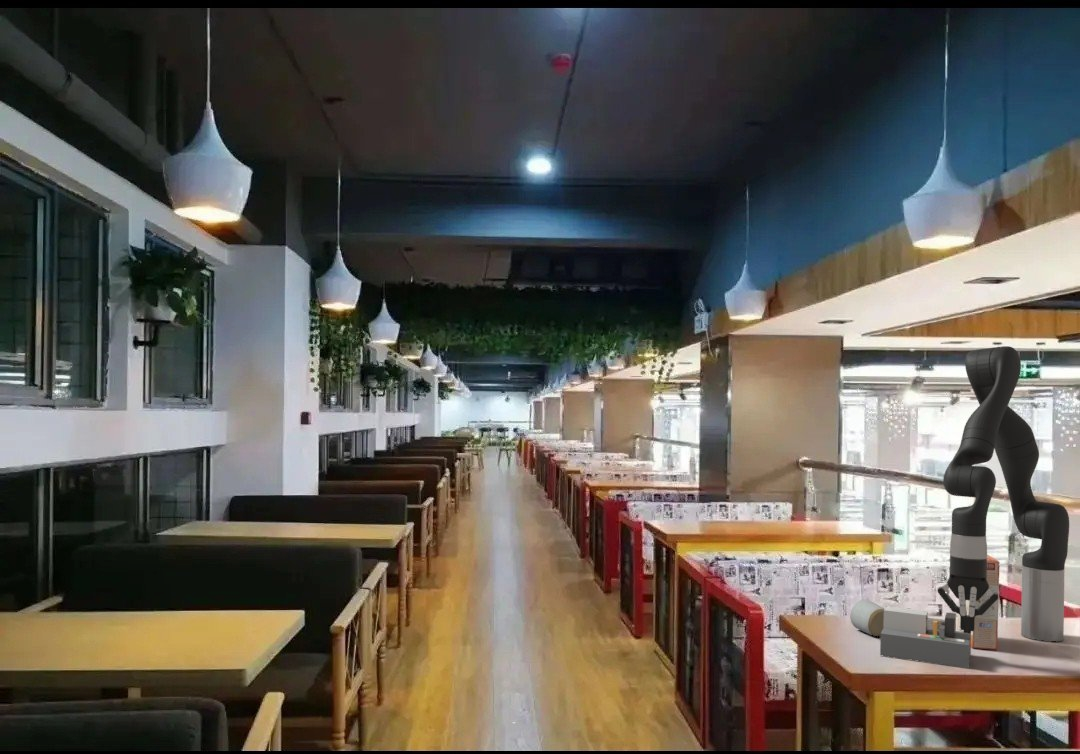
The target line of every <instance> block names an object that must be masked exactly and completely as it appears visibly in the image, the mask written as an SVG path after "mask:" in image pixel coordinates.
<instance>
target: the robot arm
mask: <svg viewBox="0 0 1080 754" xmlns="http://www.w3.org/2000/svg"><path fill="white" fill-rule="evenodd" d="M964 361H965V362H964V365H965V366H964V367H965V372H966V375H967V379H968V381H969V384H970V386H971V389H972V391H973V393H974V395H975V397H976V400H977V403H978V404H979V406H977V408H976V409H975V410H974V411H973V412H972V413H971V415H970V416H969V417H968V419H967V420H966V423H965V425H964V427H963V431H962V437H961V441H960V444H959V447H958V449H957V451H956V453H955V454H954V456H953V458H952V459H951V461H950V462H949V464H948V466H947V467H946V469H945V472H944V475H943V487H944V489H945V491H946V492H947V494H949V495H951V496H955V497H964V498H975V500H974V502H973V503H972V505H969V506H968V505H967V506H960V507H955V508H954V509H952V513H951V535H950V543H949V577H948V579H947V581H946V583H945V584H943V586H939V587H938V588H937V593H938V595H939V596H940V597H941V598H942V600H943V601H944V602H945V604H946V605H947V606H948V608H949V609H950V610H951V612H952V613H956V614H957V615H958V614H959V615H960V628H961V630H964V633H969V634H971V631H974V624H975V616H978V615H983V614H984V613H985V612H986V611H987V610H988V609H989V607H990V606H991V605H992V604H993V603H994V602H995V601H996V600H997V599H998V596H999V595H1000V594H999V595H998V593H996V592H993V591H992V590H991V589H990V588H989V584H988V582H987V555H988V543H987V516H988V512H989V507H990V503H991V500H992V497H993V495H994V491H995V489H996V484H997V478H996V475H995V473H994V471H993V470H992V469H991V468H989V467H987V466H980V465H979V466H978V464H984V463H987V462H990V461H991V460H992V458H993V454H994V451H995V454H996V457H997V460H998V463H999V465H1000V468H1001V471H1002V475H1003V479H1004V481H1005V485H1006V489H1007V492H1008V497H1009V502H1010V506H1011V512H1012V516H1013V521H1014V523H1015V526H1016V528H1017V530H1018V532H1019V534H1021V535H1022V536H1024V537H1027V538H1030V539H1031V538H1032V539H1036V540H1037V539H1038V540H1041V543H1040V547H1039V548H1038V549H1036V550H1035V551H1030V552H1029V551H1028V552H1024V554H1023V555H1022V556H1021V557H1022V558H1021V608H1020V609H1021V616H1020V617H1021V619H1020V620H1021V622H1020V623H1021V624H1020V625H1021V628H1020V635H1021V636H1023V637H1024V636H1025V638H1028V639H1031V638H1032V640H1035V639H1037V640H1036V641H1041V640H1044V641H1043V642H1051V641H1056V642H1061V641H1062V642H1063V641H1064V636H1065V634H1064V632H1065V631H1064V629H1065V627H1064V626H1065V570H1066V568H1065V565H1066V560H1067V557H1068V553H1069V552H1068V547H1069V536H1070V517H1069V513H1068V510H1067V509H1066V508H1065V507H1064V506H1063V505H1062V504H1059V503H1053V502H1046V501H1038V500H1037V499H1036V498H1035V496H1034V492H1033V489H1032V483H1031V482H1032V478H1033V474H1034V472H1035V470H1036V468H1037V465H1038V462H1039V458H1040V451H1039V447H1038V445H1037V441H1036V437H1035V434H1034V431H1033V429H1032V427H1031V426H1030V425H1029V423H1028V422H1027V421H1026V420H1025V419H1024V418H1023V417H1022V416H1021V415H1020V414H1018V413H1017V412H1016V411H1015V410H1014V409H1012V408H1011V407H1010V406H1009V403H1010V402H1011V399H1012V397H1013V394H1014V392H1015V389H1016V388H1017V387H1016V386H1017V385H1018V382H1019V379H1020V375H1021V370H1022V363H1021V357H1020V355H1019V353H1018V351H1017V350H1016V349H1015V348H1014V347H1013V346H1010V345H1009V346H996V347H989V348H978V349H973V350H970V351H969V352H968V353H967V354H966V356H965V360H964ZM950 591H951V592H952V593H953V595H954V597H956V599H957V600H959V605H960V607H959V606H958V605H957V603H955V601H954V600H953V599H952V597H951V596H950ZM986 592H987V595H986V598H987V600H986V601H985V602H984V603H983V604H982V605H981V606H980V607H979V608H978V609H975V605H976V601H978V600H979V599H980V598H981V597H982V596H983V595H984V594H985V593H986ZM966 600H969V601H970V602H969V613H968V615H967V611H966Z"/></svg>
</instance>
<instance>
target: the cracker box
mask: <svg viewBox="0 0 1080 754" xmlns="http://www.w3.org/2000/svg"><path fill="white" fill-rule="evenodd" d="M987 582H988V584H989V588H990V589H991V590H992V591H993V592H996V593H998V595H1000V592H999V590H1000V561H999V560H998V559H996V558H994V557H992V556H990V555H988V554H987ZM986 595H987V592H986V593H985V594H984V595H983V596H982V597H981V598H980V599H979V600H978V601H976V605H975V609H978V608H979V607H980V606H981V605H982V604H983V603H984V602H985V601H986V600H987V598H986ZM957 600H958V602H957V603H958V605H957V606H959V607H960V605H959V599H957ZM969 602H970V601H969V600H966V611H967V615H968V613H969ZM999 602H1000V601H999V596H998V599H997V600H996V601H995V602H994V603H993V604H992V605H991V606H990V607H989V609H988V610H987V611H986V612H985V613H984V614H983V615H978V616H975V624H974V631H971V649H981V650H991V651H993V650H995V651H998V641H999V640H998V637H999V636H998V635H999V634H998V632H999V631H998V630H999ZM957 631H960V632H964V630H961V628H960V615H959V614H958V613H957Z"/></svg>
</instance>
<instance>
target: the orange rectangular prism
mask: <svg viewBox="0 0 1080 754" xmlns="http://www.w3.org/2000/svg"><path fill="white" fill-rule="evenodd" d="M933 636H937V621H933Z"/></svg>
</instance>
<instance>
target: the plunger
mask: <svg viewBox="0 0 1080 754" xmlns="http://www.w3.org/2000/svg"><path fill="white" fill-rule="evenodd" d="M933 621H937V630H939V637H941V638H944V637H945V636H950V637H955V633H956V631H957V613H956V612H946V613H945V617H944V619H940V618H934V617H933V618H932V617H928V618H926V628H928V629H933Z"/></svg>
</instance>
